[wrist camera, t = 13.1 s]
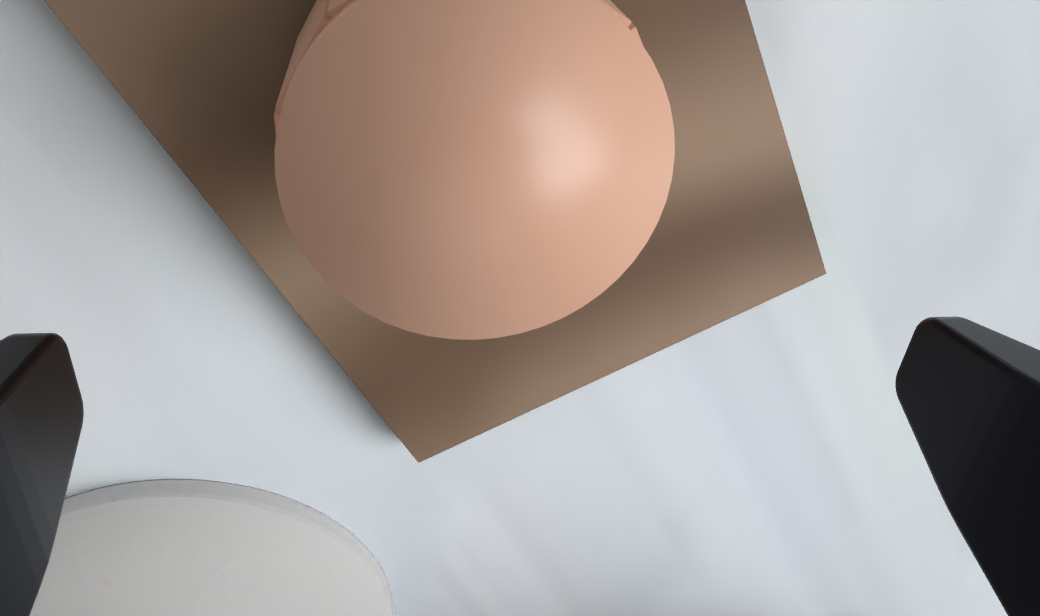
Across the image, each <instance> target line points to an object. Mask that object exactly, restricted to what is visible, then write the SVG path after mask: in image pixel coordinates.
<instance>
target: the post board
mask: <svg viewBox="0 0 1040 616" xmlns="http://www.w3.org/2000/svg"><path fill="white" fill-rule="evenodd" d="M44 1H45V2H46V3H47V4H48V5H49V7H50V8H51V9H52V10H53V12H54V13H55V14H56V15H57V17H58V18H59V19H60V20H61V22H62V23H63V24H64V25H65V26H66V28H67V29H68V30H69V31H70V33H71V34H72V35H73V36H74V38H75V39H76V40H77V41H78V43H79V44H80V45H81V46H82V47H83V49H84V50H85V51H86V52H87V54H88V55H89V56H90V57H91V59H92V60H93V61H94V62H95V64H96V65H97V66H98V67H99V68H100V70H101V71H102V72H103V73H104V75H105V76H106V77H107V78H108V80H109V81H110V82H111V83H112V85H113V86H114V87H115V88H116V89H117V91H118V92H119V93H120V94H121V96H122V97H123V98H124V99H125V101H126V102H127V103H128V104H129V106H130V107H131V108H132V109H133V110H134V112H135V113H136V114H137V115H138V117H139V118H140V119H141V120H142V122H143V123H144V124H145V125H146V127H147V128H148V129H149V130H150V131H151V133H152V134H153V135H154V136H155V138H156V139H157V140H158V141H159V143H160V144H161V145H162V146H163V148H164V149H165V150H166V151H167V152H168V154H169V155H170V156H171V157H172V159H173V160H174V161H175V162H176V164H177V165H178V166H179V167H180V169H181V170H182V171H183V172H184V173H185V175H186V176H187V177H188V178H189V180H190V181H191V182H192V183H193V185H194V186H195V187H196V188H197V190H198V191H199V192H200V193H201V194H202V196H203V197H204V198H205V199H206V201H207V202H208V203H209V204H210V206H211V207H212V208H213V209H214V211H215V212H216V213H217V214H218V215H219V217H220V218H221V219H222V220H223V222H224V223H225V224H226V225H227V227H228V228H229V229H230V230H231V232H232V233H233V234H234V235H235V236H236V238H237V239H238V240H239V241H240V243H241V244H242V245H243V246H244V248H245V249H246V250H247V251H248V253H249V254H250V255H251V256H252V257H253V259H254V260H255V261H256V262H257V264H258V265H259V266H260V267H261V269H262V270H263V271H264V272H265V274H266V275H267V276H268V277H269V278H270V280H271V281H272V282H273V283H274V285H275V286H276V287H277V288H278V290H279V291H280V292H281V293H282V295H283V296H284V297H285V298H286V299H287V301H288V302H289V303H290V304H291V306H292V307H293V308H294V309H295V311H296V312H297V313H298V314H299V316H300V317H301V318H302V319H303V321H304V322H305V323H306V324H307V325H308V327H309V328H310V329H311V330H312V332H313V333H314V334H315V335H316V337H317V338H318V339H319V340H320V342H321V343H322V344H323V345H324V346H325V348H326V349H327V350H328V351H329V353H330V354H331V355H332V356H333V358H334V359H335V360H336V361H337V363H338V364H339V365H340V366H341V367H342V369H343V370H344V371H345V372H346V374H347V375H348V376H349V377H350V379H351V380H352V381H353V382H354V384H355V385H356V386H357V387H358V388H359V390H360V391H361V392H362V393H363V395H364V396H365V397H366V398H367V400H368V401H369V402H370V403H371V405H372V406H373V407H374V408H375V409H376V411H377V412H378V413H379V414H380V416H381V417H382V418H383V419H384V421H385V422H386V423H387V424H388V426H389V427H390V428H391V429H392V430H393V432H394V433H395V434H396V435H397V437H398V438H399V439H400V440H401V442H402V443H403V444H404V445H405V447H406V448H407V449H408V450H409V451H410V453H411V454H412V455H413V456H414V458H415V459H416V460H417V461H418V463H419V462H421V461H423V460H425V459H428V458H430V457H432V456H434V455H436V454H438V453H441V452H443V451H445V450H447V449H449V448H451V447H454V446H456V445H458V444H460V443H462V442H464V441H466V440H469V439H471V438H473V437H475V436H477V435H479V434H482V433H484V432H486V431H488V430H490V429H492V428H494V427H497V426H499V425H501V424H503V423H505V422H507V421H510V420H512V419H514V418H516V417H518V416H520V415H522V414H525V413H527V412H529V411H531V410H533V409H535V408H538V407H540V406H542V405H544V404H546V403H548V402H550V401H553V400H555V399H557V398H559V397H561V396H563V395H566V394H568V393H570V392H572V391H574V390H576V389H578V388H581V387H583V386H585V385H587V384H589V383H591V382H594V381H596V380H598V379H600V378H602V377H604V376H606V375H609V374H611V373H613V372H615V371H617V370H619V369H622V368H624V367H626V366H628V365H630V364H632V363H634V362H637V361H639V360H641V359H643V358H645V357H647V356H650V355H652V354H654V353H656V352H658V351H660V350H662V349H665V348H667V347H669V346H671V345H673V344H675V343H678V342H680V341H682V340H684V339H686V338H688V337H691V336H693V335H695V334H697V333H699V332H701V331H703V330H706V329H708V328H710V327H712V326H714V325H716V324H719V323H721V322H723V321H725V320H727V319H729V318H731V317H734V316H736V315H738V314H740V313H742V312H744V311H747V310H749V309H751V308H753V307H755V306H757V305H759V304H762V303H764V302H766V301H768V300H770V299H772V298H775V297H777V296H779V295H781V294H783V293H785V292H787V291H790V290H792V289H794V288H796V287H798V286H800V285H803V284H805V283H807V282H809V281H811V280H813V279H815V278H818V277H820V276H822V275H824V274H826V271H825V268H824V265H823V261H822V258H821V254H820V251H819V248H818V244H817V241H816V238H815V234H814V231H813V228H812V224H811V221H810V218H809V214H808V211H807V207H806V204H805V201H804V197H803V194H802V191H801V187H800V184H799V181H798V177H797V174H796V171H795V167H794V164H793V160H792V157H791V154H790V150H789V147H788V144H787V140H786V137H785V134H784V130H783V127H782V123H781V120H780V117H779V113H778V110H777V107H776V103H775V100H774V97H773V93H772V90H771V87H770V83H769V80H768V76H767V73H766V70H765V66H764V63H763V60H762V56H761V53H760V50H759V46H758V43H757V40H756V36H755V33H754V29H753V26H752V23H751V19H750V16H749V13H748V9H747V6H746V3H745V0H610V1H611V2H612V3H613V4H614V5H615V6H616V7H617V8H618V9H619V10H620V11H621V12H622V13H623V14H624V15H625V16H626V17H627V18H628V19H630V20H631V21H632V24H633V25H634V26H635V27H636V29H637V31H638V34H639V36H640V39H641V41H642V44H643V46H644V48H645V50H646V51H647V53H648V54H649V56H650V57H651V59H652V60H653V62H654V65H655V67H656V69H657V71H658V73H659V75H660V77H661V79H662V81H663V84H664V87H665V90H666V93H667V97H668V100H669V103H670V106H671V113H672V119H673V125H674V138H675V157H674V166H673V175H672V181H671V185H670V189H669V193H668V197H667V201H666V203H665V206H664V208H663V211H662V213H661V216H660V219H659V221H658V223H657V225H656V227H655V229H654V231H653V233H652V234H651V236H650V238H649V240H648V242H647V243H646V245H645V246H644V248H643V249H642V250H641V252H640V253H639V255H638V256H637V258H636V259H635V260H634V262H633V263H632V264H631V265H630V266H629V267H628V268H627V270H626V271H625V272H624V273H623V274H622V275H621V276H620V277H619V278H618V279H617V280H616V281H615V282H614V283H613V284H612V285H611V286H609V287H608V288H607V289H606V290H605V291H604V292H603V293H602V294H600V295H599V296H597V297H596V298H595V299H593V300H592V301H590V302H589V303H588V304H586V305H585V306H583V307H582V308H580V309H578V310H576V311H575V312H573V313H571V314H569V315H567V316H566V317H564V318H562V319H559V320H557V321H555V322H552V323H550V324H548V325H545V326H543V327H540V328H537V329H533V330H530V331H527V332H524V333H520V334H515V335H510V336H505V337H500V338H491V339H479V340H460V339H446V338H438V337H431V336H426V335H422V334H418V333H414V332H410V331H406V330H403V329H401V328H398V327H395V326H393V325H390V324H387V323H385V322H383V321H381V320H379V319H377V318H375V317H373V316H371V315H369V314H367V313H365V312H363V311H362V310H360V309H359V308H357V307H356V306H354V305H353V304H351V303H350V302H349V301H347V300H346V299H344V298H343V297H342V296H341V295H340V294H338V293H337V292H336V291H335V290H334V289H333V288H332V287H330V286H329V285H328V284H327V283H326V282H325V281H324V280H323V278H322V277H321V276H320V275H319V274H318V273H317V272H316V271H315V269H314V268H313V267H312V266H311V265H310V263H309V262H308V260H307V259H306V257H305V256H304V254H303V253H302V251H301V250H300V248H299V247H298V245H297V243H296V241H295V239H294V237H293V235H292V233H291V231H290V229H289V227H288V225H287V222H286V219H285V216H284V213H283V210H282V207H281V204H280V200H279V195H278V189H277V184H276V178H275V153H274V150H275V142H276V131H275V122H274V112H275V107H276V103H277V100H278V97H279V94H280V91H281V88H282V85H283V82H284V78H285V75H286V72H287V69H288V66H289V63H290V60H291V57H292V53H293V50H294V47H295V44H296V41H297V38H298V35H299V33H300V32H301V30H302V28H303V26H304V24H305V22H306V20H307V18H308V16H309V14H310V12H311V10H312V8H313V6H314V4H315V2H316V0H44Z"/></svg>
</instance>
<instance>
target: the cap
mask: <svg viewBox="0 0 1040 616" xmlns="http://www.w3.org/2000/svg"><path fill="white" fill-rule="evenodd" d="M274 122H275V131H276V142H275V150H274V153H275V178H276V184H277V189H278V195H279V200H280V204H281V207H282V210H283V213H284V216H285V219H286V222H287V225H288V227H289V229H290V231H291V233H292V235H293V237H294V239H295V241H296V243H297V245H298V247H299V248H300V250H301V251H302V253H303V254H304V256H305V257H306V259H307V260H308V262H309V263H310V265H311V266H312V267H313V268H314V269H315V271H316V272H317V273H318V274H319V275H320V276H321V277H322V278H323V280H324V281H325V282H326V283H327V284H328V285H329V286H330V287H332V288H333V289H334V290H335V291H336V292H337V293H338V294H340V295H341V296H342V297H343V298H344V299H346V300H347V301H349V302H350V303H351V304H353V305H354V306H356V307H357V308H359V309H360V310H362V311H363V312H365V313H367V314H369V315H371V316H373V317H375V318H377V319H379V320H381V321H383V322H385V323H387V324H390V325H393V326H395V327H398V328H401V329H403V330H406V331H410V332H414V333H418V334H422V335H426V336H431V337H438V338H446V339H460V340H479V339H491V338H500V337H505V336H510V335H515V334H520V333H524V332H527V331H530V330H533V329H537V328H540V327H543V326H545V325H548V324H550V323H552V322H555V321H557V320H559V319H562V318H564V317H566V316H567V315H569V314H571V313H573V312H575V311H576V310H578V309H580V308H582V307H583V306H585V305H586V304H588V303H589V302H590V301H592V300H593V299H595V298H596V297H597V296H599V295H600V294H602V293H603V292H604V291H605V290H606V289H607V288H608V287H609V286H611V285H612V284H613V283H614V282H615V281H616V280H617V279H618V278H619V277H620V276H621V275H622V274H623V273H624V272H625V271H626V270H627V268H628V267H629V266H630V265H631V264H632V263H633V262H634V260H635V259H636V258H637V256H638V255H639V253H640V252H641V250H642V249H643V248H644V246H645V245H646V243H647V242H648V240H649V238H650V236H651V234H652V233H653V231H654V229H655V227H656V225H657V223H658V221H659V219H660V216H661V213H662V211H663V208H664V206H665V203H666V201H667V197H668V193H669V189H670V185H671V181H672V175H673V166H674V157H675V138H674V125H673V119H672V113H671V106H670V103H669V100H668V97H667V93H666V90H665V87H664V84H663V81H662V79H661V77H660V75H659V73H658V71H657V69H656V67H655V65H654V62H653V60H652V59H651V57H650V56H649V54H648V53H647V51H646V50H645V48H644V46H643V44H642V41H641V39H640V36H639V34H638V31H637V29H636V27H635V26H634V25H633V24H632V21H631V20H630V19H628V18H627V17H626V16H625V15H624V14H623V13H622V12H621V11H620V10H619V9H618V8H617V7H616V6H615V5H614V4H613V3H612V2H611V1H610V0H316V2H315V4H314V6H313V8H312V10H311V12H310V14H309V16H308V18H307V20H306V22H305V24H304V26H303V28H302V30H301V32H300V33H299V35H298V38H297V41H296V44H295V47H294V50H293V53H292V57H291V60H290V63H289V66H288V69H287V72H286V75H285V78H284V82H283V85H282V88H281V91H280V94H279V97H278V100H277V103H276V107H275V112H274Z"/></svg>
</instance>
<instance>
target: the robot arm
mask: <svg viewBox="0 0 1040 616" xmlns="http://www.w3.org/2000/svg"><path fill="white" fill-rule="evenodd" d="M896 392H897V396H898V399H899V401H900V404H901V406H902V408H903V410H904V413H905V415H906V417H907V419H908V422H909V424H910V426H911V428H912V431H913V433H914V435H915V437H916V440H917V442H918V444H919V446H920V449H921V451H922V453H923V455H924V458H925V460H926V462H927V464H928V466H929V469H930V471H931V473H932V475H933V478H934V480H935V482H936V484H937V487H938V489H939V491H940V493H941V495H942V498H943V500H944V502H945V504H946V506H947V508H948V510H949V512H950V514H951V516H952V517H953V519H954V521H955V523H956V525H957V527H958V529H959V530H960V532H961V534H962V536H963V537H964V539H965V541H966V543H967V544H968V546H969V548H970V550H971V551H972V553H973V555H974V557H975V558H976V560H977V562H978V564H979V565H980V567H981V569H982V571H983V572H984V574H985V576H986V578H987V579H988V581H989V583H990V585H991V586H992V588H993V590H994V592H995V593H996V595H997V597H998V599H999V600H1000V602H1001V604H1002V606H1003V607H1004V609H1005V611H1006V613H1007V614H1008V616H1040V350H1038V349H1035V348H1033V347H1031V346H1028V345H1026V344H1024V343H1021V342H1019V341H1017V340H1014V339H1012V338H1010V337H1007V336H1005V335H1003V334H1000V333H998V332H996V331H993V330H991V329H989V328H986V327H984V326H981V325H979V324H977V323H974V322H972V321H970V320H967V319H965V318H961V317H930V318H927V319H924V320H923V321H921V322H920V323H919V325H918V326H917V327H916V329H915V331H914V334H913V336H912V339H911V341H910V343H909V346H908V348H907V351H906V353H905V355H904V358H903V360H902V363H901V365H900V367H899V370H898V372H897V376H896ZM82 424H83V401H82V397H81V393H80V390H79V386H78V383H77V379H76V375H75V372H74V368H73V365H72V361H71V358H70V354H69V350H68V347H67V345H66V343H65V341H64V340H63V338H62V337H60V336H59V335H57V334H55V333H29V334H13V335H10V336H8V337H6V338H4V339H2V340H0V616H30V613H31V610H32V608H33V605H34V603H35V600H36V597H37V595H38V592H39V589H40V587H41V584H42V581H43V578H44V575H45V572H46V569H47V566H48V563H49V560H50V556H51V552H52V548H53V545H54V541H55V537H56V533H57V529H58V525H59V520H60V516H61V512H62V508H63V504H64V500H65V495H66V491H67V487H68V483H69V479H70V475H71V470H72V466H73V462H74V458H75V454H76V450H77V445H78V441H79V437H80V433H81V429H82Z"/></svg>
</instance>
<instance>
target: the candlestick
mask: <svg viewBox="0 0 1040 616" xmlns="http://www.w3.org/2000/svg"><path fill="white" fill-rule="evenodd" d="M30 616H393V601H392V594H391V590H390V586H389V583H388V581H387V578H386V576H385V574H384V572H383V570H382V568H381V566H380V565H379V563H378V561H377V560H376V559H375V557H374V556H373V555H372V553H371V552H370V551H369V550H368V549H367V547H366V546H365V545H364V544H363V543H362V542H361V541H360V540H359V539H358V538H356V537H355V536H354V535H353V534H352V533H351V532H349V531H348V530H347V529H346V528H344V527H343V526H341V525H340V524H339V523H337V522H335V521H334V520H332V519H331V518H329V517H327V516H326V515H324V514H322V513H320V512H318V511H316V510H314V509H312V508H310V507H308V506H306V505H304V504H301V503H299V502H297V501H294V500H292V499H289V498H286V497H283V496H280V495H277V494H274V493H271V492H267V491H263V490H259V489H255V488H251V487H247V486H241V485H236V484H229V483H222V482H214V481H203V480H176V479H175V480H151V481H140V482H132V483H125V484H119V485H113V486H108V487H104V488H99V489H95V490H92V491H88V492H85V493H81V494H78V495H75V496H72V497H69V498H67V499H65V500H64V504H63V508H62V512H61V516H60V520H59V525H58V529H57V533H56V537H55V541H54V545H53V548H52V552H51V556H50V560H49V563H48V566H47V569H46V572H45V575H44V578H43V581H42V584H41V587H40V589H39V592H38V595H37V597H36V600H35V603H34V605H33V608H32V610H31V613H30Z"/></svg>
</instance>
